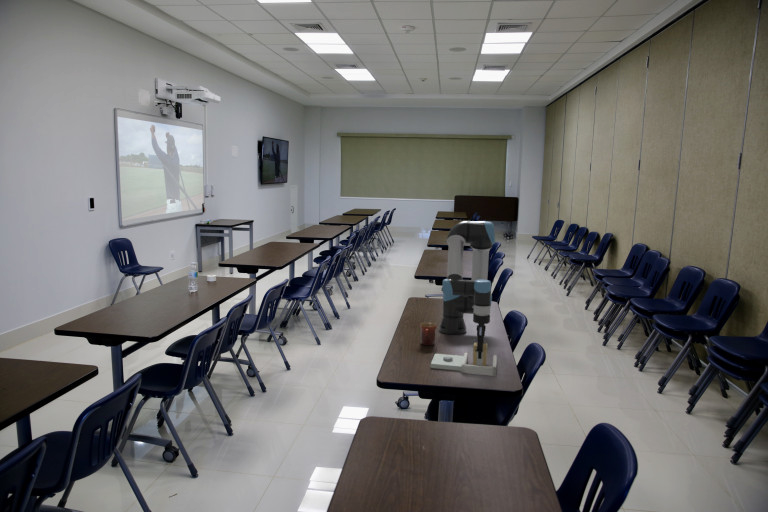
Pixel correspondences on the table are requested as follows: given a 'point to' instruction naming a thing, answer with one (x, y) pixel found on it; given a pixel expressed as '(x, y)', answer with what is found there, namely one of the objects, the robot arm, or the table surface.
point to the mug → (428, 333)
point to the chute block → (483, 354)
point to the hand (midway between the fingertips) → (479, 362)
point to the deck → (462, 364)
